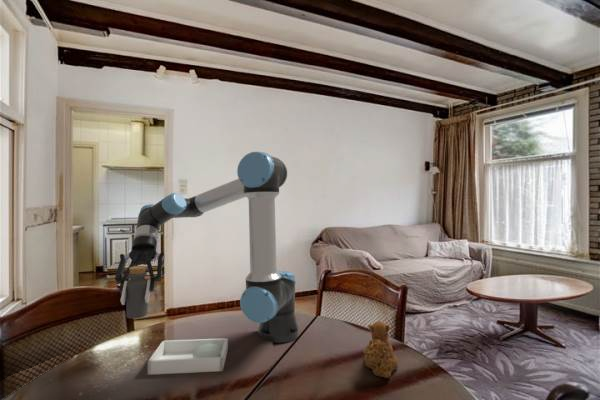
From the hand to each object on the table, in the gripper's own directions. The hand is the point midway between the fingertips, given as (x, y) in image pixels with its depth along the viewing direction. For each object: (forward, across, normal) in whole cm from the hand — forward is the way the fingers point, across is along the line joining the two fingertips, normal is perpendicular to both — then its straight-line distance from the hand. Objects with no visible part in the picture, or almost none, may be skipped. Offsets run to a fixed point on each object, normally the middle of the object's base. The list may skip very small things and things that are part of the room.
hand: (134, 301), depth 93 cm
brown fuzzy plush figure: (+31, -69, +4) cm, 76 cm away
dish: (+17, -21, -7) cm, 28 cm away
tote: (+17, -16, -8) cm, 25 cm away
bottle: (+1, 0, -6) cm, 7 cm away
